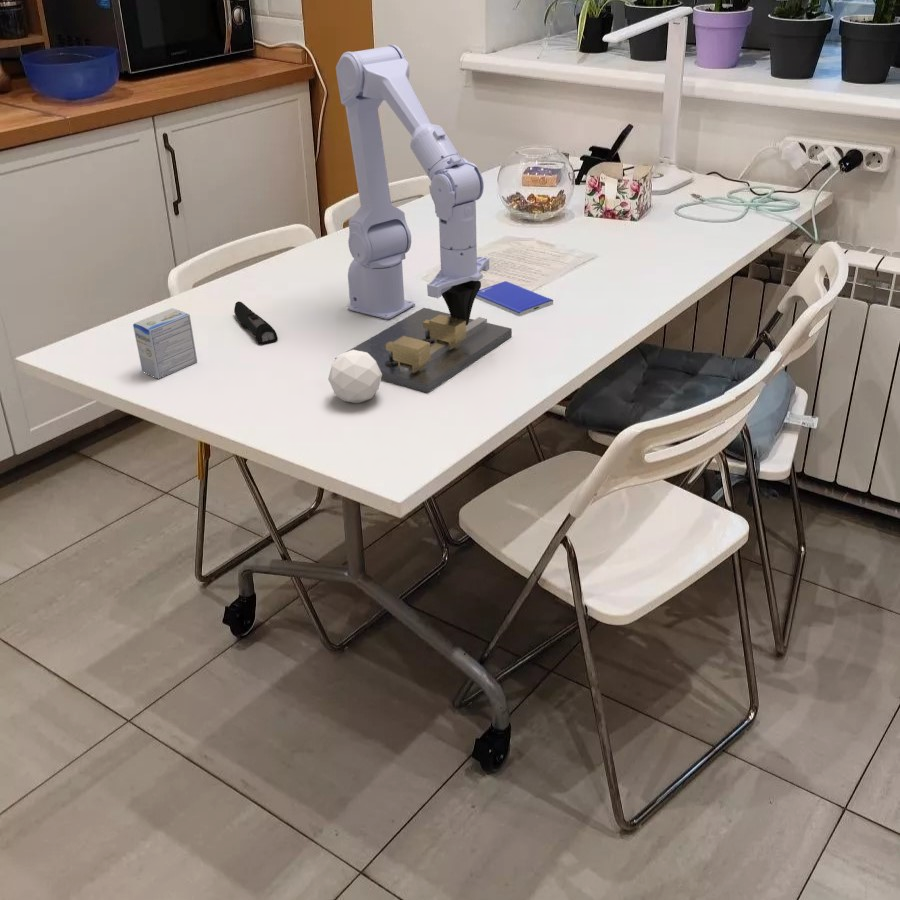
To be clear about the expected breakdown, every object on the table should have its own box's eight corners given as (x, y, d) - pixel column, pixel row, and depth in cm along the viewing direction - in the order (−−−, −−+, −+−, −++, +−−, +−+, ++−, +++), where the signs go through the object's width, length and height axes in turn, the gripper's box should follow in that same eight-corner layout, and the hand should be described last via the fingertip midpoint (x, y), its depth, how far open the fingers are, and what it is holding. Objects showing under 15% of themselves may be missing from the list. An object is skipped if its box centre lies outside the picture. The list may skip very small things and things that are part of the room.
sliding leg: (420, 341, 168) (418, 318, 166) (430, 335, 170) (429, 311, 168) (455, 350, 165) (455, 327, 163) (466, 344, 167) (465, 320, 165)
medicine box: (181, 356, 171) (172, 306, 167) (198, 362, 169) (190, 313, 164) (141, 373, 166) (131, 322, 162) (158, 380, 164) (149, 329, 159)
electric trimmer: (250, 314, 187) (248, 298, 185) (280, 342, 175) (277, 325, 174) (230, 318, 185) (228, 302, 184) (259, 347, 174) (256, 330, 172)
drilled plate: (336, 366, 166) (332, 332, 163) (424, 315, 182) (422, 283, 179) (427, 393, 156) (426, 356, 153) (511, 336, 173) (511, 303, 170)
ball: (344, 416, 157) (312, 373, 155) (384, 384, 159) (352, 342, 158) (357, 412, 150) (324, 368, 148) (399, 379, 152) (366, 335, 151)
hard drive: (473, 291, 189) (519, 311, 180) (506, 280, 193) (553, 298, 185) (473, 299, 190) (519, 319, 181) (506, 288, 194) (553, 306, 185)
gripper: (452, 262, 155) (455, 346, 162) (504, 235, 165) (505, 314, 172) (414, 254, 158) (418, 336, 165) (468, 228, 168) (470, 306, 175)
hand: (460, 324), depth 169 cm, fingers closed
